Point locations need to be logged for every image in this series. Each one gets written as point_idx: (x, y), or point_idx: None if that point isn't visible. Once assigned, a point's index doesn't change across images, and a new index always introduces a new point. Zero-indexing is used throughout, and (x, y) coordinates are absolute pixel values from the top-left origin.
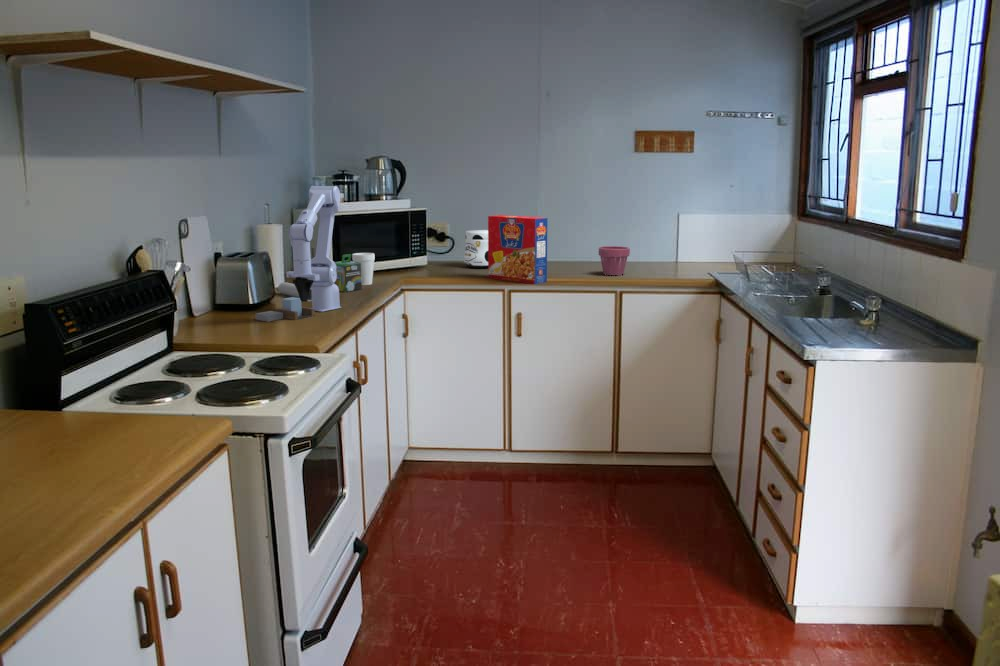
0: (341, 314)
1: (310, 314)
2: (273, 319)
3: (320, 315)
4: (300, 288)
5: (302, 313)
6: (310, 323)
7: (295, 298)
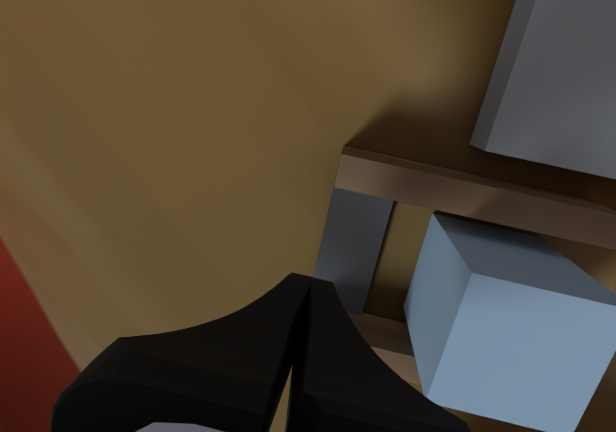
0: None
1: None
2: (508, 32)
3: None
4: (260, 328)
5: None
6: (138, 72)
7: (484, 380)
